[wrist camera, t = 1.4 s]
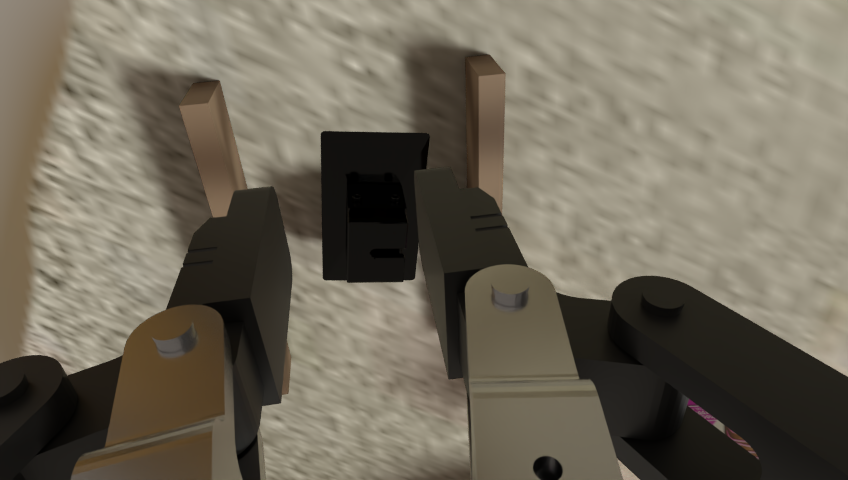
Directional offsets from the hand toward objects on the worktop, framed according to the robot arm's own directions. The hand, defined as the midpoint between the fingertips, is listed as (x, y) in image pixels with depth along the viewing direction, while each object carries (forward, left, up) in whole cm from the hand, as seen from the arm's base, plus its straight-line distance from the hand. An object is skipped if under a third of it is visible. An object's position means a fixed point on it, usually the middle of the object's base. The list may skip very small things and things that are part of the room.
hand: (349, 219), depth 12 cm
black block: (+10, +1, -18) cm, 21 cm away
